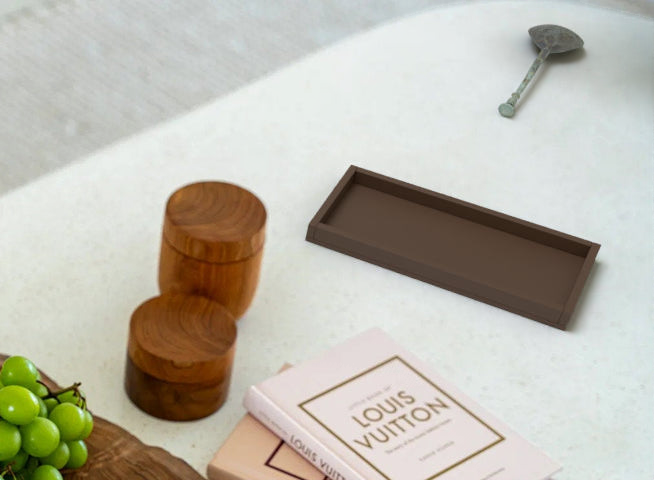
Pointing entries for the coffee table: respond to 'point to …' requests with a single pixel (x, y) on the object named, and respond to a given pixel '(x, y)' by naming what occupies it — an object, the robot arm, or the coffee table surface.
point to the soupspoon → (543, 55)
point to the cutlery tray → (455, 245)
